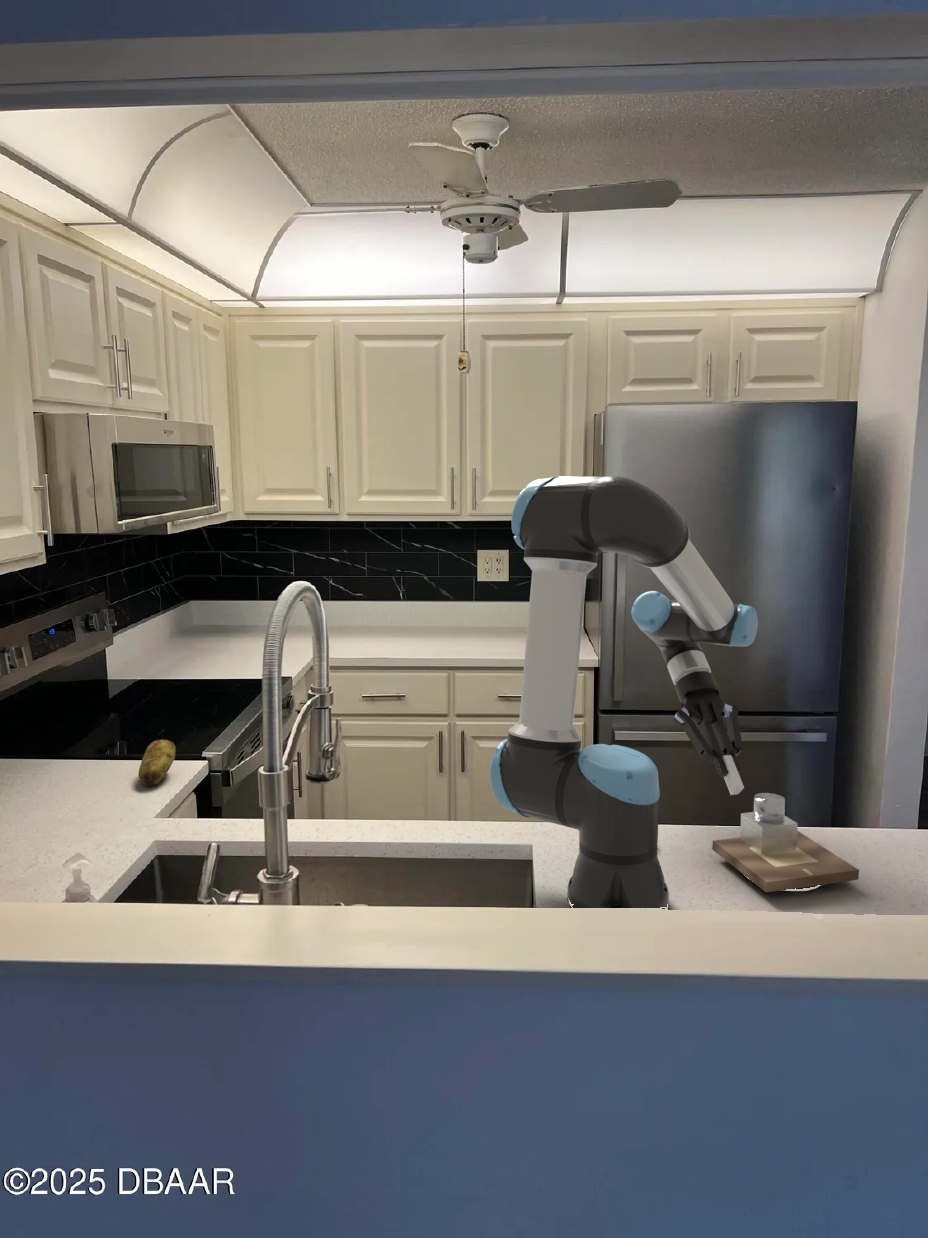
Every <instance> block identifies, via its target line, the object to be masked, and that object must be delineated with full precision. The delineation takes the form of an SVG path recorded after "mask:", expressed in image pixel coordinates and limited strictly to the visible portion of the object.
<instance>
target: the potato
mask: <svg viewBox="0 0 928 1238" xmlns="http://www.w3.org/2000/svg"><path fill="white" fill-rule="evenodd" d="M175 757H176V745H175V743H174V742H173V741H170V740H168V739H156V740H154V741H152V742H151V743H149V745H148V746H147V747H146V749H145V752H144V754H143V757H142V758H141V759H142V760H141V762H140V766H139V768H138V778H139V781H140V782H141V783H142V784H144V785H145V786H148V787H152V786H155V785H157V784H159V783H160V782H161V781H162V780H163V779H164V776H165V775H166V774H167V773H168V772H169V770H170V769H171V767H172V765H173V762H174V760H175Z"/></svg>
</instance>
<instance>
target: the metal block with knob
mask: <svg viewBox="0 0 928 1238" xmlns="http://www.w3.org/2000/svg"><path fill="white" fill-rule="evenodd" d="M785 806H786V798H785V797H784V796H782V795H779V794H777V793H770V792H759V793H756V794H754V796H753V811H751V812H750V811H749V812H743V813H740V831H739V832H740V834H739V835H740V836H739V837H740V839H741V840H743V841H744V842H745V843H747V844H748V845H750V846H751V847H752V848H754V849H755V850H757V851H758V852H759V853H761V854H765V853H773V852H781V851H789V850H797V831H798V822H796V821H795V820H792V819H791V818H790V817H788V816H786V815H785V811H786V810H785V808H786V807H785Z"/></svg>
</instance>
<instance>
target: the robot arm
mask: <svg viewBox="0 0 928 1238" xmlns="http://www.w3.org/2000/svg"><path fill="white" fill-rule="evenodd" d="M511 531H512V534H514V536H513V540H514V541H515V543H516V545H517V546H519V548H521V549H522V550H524V553H523V554H524V555H523V561H524V562H525V563H526V565H528V567H529V568H530V570H531V571H532V572H531V581H530V592H529V593H530V595H529V604H528V605H529V606H528V616H527V617H528V618H527V627H526V628H527V629H526V639H525V653H524V659H523V660H524V661H523V662H524V663H523V673H522V686H521V695H520V696H521V697H520V709H519V719H518V721H517V722H516V723H515V724H513V725H512V726H511V727H510V728H509V729H508V737H507V738H505V739H503V740H502V741H500V742H499V744H497V746H496V748H495V753H494V754H492V756H491V760H490V766H489V782H490V786H491V791H492V793H493V796H494V797H495V799H496V800H497V802H498V803H499V805H500V806H501V807H503V808H504V809H505V810H507V811H509V812H513V813H516V814H518V815H520V816H521V817H524V818H532V819H536V820H540V821H543V822H548V823H552V824H555V825H559V826H563V827H568V828H571V829H575V830H577V831H578V835H579V836H578V837H579V838H578V839H579V843H578V844H579V845H578V847H579V849H578V850H579V851H578V855H577V856H576V857H577V858H576V860H575V864H574V868H573V872H572V876H571V877H570V878H569V881H568V884H567V899H568V898H569V900H570V902H571V904H574V905H573V906H572V907H573V908H660V907H667V904H668V902H669V903H670V893H669V892H670V891H669V887H668V885H667V883H666V882H665V877H664V873H663V869H662V866H661V864H660V863H661V862H660V860H659V856H658V853H659V852H658V847H659V846H658V843H659V840H658V839H659V810H660V809H659V807H660V806H659V805H660V801H659V800H660V796H661V790H660V784H659V771H658V768H657V766H656V764H655V763H654V761H653V760H652V759H651V758H650V757H649V756H647V755H646V754H644V753H642V752H641V751H639V750H636V749H633V748H630V747H628V746H622V745H618V744H611V745H608V744H606V743H597V744H591V745H587V746H586V747H583V749H582V740H583V739H582V735H581V734H580V733H579V732H578V730H577V729H576V728H575V727H574V720H575V712H576V711H575V708H576V696H577V687H578V674H579V662H580V653H581V644H582V643H581V642H582V641H581V640H582V631H583V619H584V605H585V595H586V585H587V576H588V574H589V573H590V572H591V571H593V570H594V569H596V568H597V566H598V560H599V559H598V557H599V553H603V554H604V553H605V554H608V553H611V554H612V553H613V554H621V555H625V556H628V557H629V556H630V557H631V558H632V559H633V560H634V561H635V562H637V563H638V564H639V565H640V566H642V567H645V568H649V569H650V571H652V573H654V575H655V576H656V577H657V579H658V581H660V582H661V584H662V585H663V586H664V587H665V588H666V589H667V591H668V592H669V594H670V595H671V596H672V597H673V598H674V600H673V599H670V598H669V597H668V596H666V595H664V594H663V593H661V592H659V591H655V590H650V591H649V590H648V591H646V592H644V593H642V594H640V595H639V596H637V598H636V599H635V600H634V602H633V604H632V606H631V618H632V620H633V621H634V623H635V624H636V625H637V627H638V629H639V630H640V631H641V632H643V633H644V634H645V636H647V637H648V638H649V639H650V640H651V641H652V642H653V643H654V644H655V645H656V646H657V647H658V648H659V649H660V653H661V654H662V657H663V660H664V661H665V662H664V663H665V665H666V668H667V670H668V673H669V676H670V677H671V681H672V683H673V685H674V689H675V691H676V693H677V697H678V700H679V702H680V703H681V709H678V711H677V712H676V713H675V715H674V716H673V721H675V722H676V724H678V725H679V726H680V727H681V728H682V730H683V732H685V734H686V736H687V738H688V739H689V741H690V742H691V744H692V745H693V747H694V748H695V750H696V752H697V753H698V754H699V756H700V758H701V760H705V761H706V760H709V762H710V764H712V765H714V766H715V769H716V772H717V774H718V776H719V777H720V778H723V779H724V782H725V784H726V787H727V789H728V792H729V794H730V796H736V795H739V794H740V793H741V792H742V791H743V790H744V789H745V786H744V784H743V781H742V778H741V775H740V773H741V771H742V770H741V767H740V765H739V762H738V760H737V759H738V758H737V757H738V755H739V754H740V753H741V752H742V751H743V749H744V747H743V741H742V740H743V739H742V737H741V735H742V734H741V729H740V724H739V718H738V717H739V716H738V714H739V712H740V707H739V705H737V704H733V706H731V705H730V704H727V703H726V701H725V699H723V697H721V695H720V693H719V687H718V685H717V682H716V679H715V677H714V674H713V673H712V669H711V667H710V665H709V663H708V660H707V657H706V656H705V654H704V652H703V649H702V646H701V645H700V643H701V644H710V645H718V646H724V647H725V646H726V647H731V648H732V647H741V648H743V647H749V646H751V645H752V644H753V643H754V641H755V639H756V636H757V632H758V627H759V619H758V613H757V610H756V609H755V608H754V607H753V606H751V605H744V604H742V603H739V604H736V603H734V602H733V600H732V599H731V598H730V596H729V595H728V593H727V592H726V590H725V589H724V587H723V586H722V585H721V582H720V581H719V580H718V579H717V577H716V576H715V574H714V573H713V572H712V570H711V569H710V568H709V566H708V564H707V563H706V561H705V560H704V559H703V557H702V556H701V555H700V553H699V551H698V550H697V548H696V547H695V546H694V543H692V541H691V540H690V528H689V525H688V523H687V522H686V521H685V519H684V518H683V516H682V515H681V513H680V512H679V511H678V510H677V509H676V507H675V506H674V505H672V504H671V503H670V502H669V501H668V500H667V499H666V498H665V497H663V496H662V495H661V494H659V493H658V492H656V491H654V490H653V489H652V488H651V487H649V486H647V485H645V484H643V483H641V482H639V481H637V480H635V479H632V478H629V477H626V476H620V475H605V476H598V475H596V476H579V475H578V476H569V475H568V476H557V475H556V476H553V477H548V478H547V477H545V478H538V479H536V480H533V481H531V482H529V483H528V484H526V486H525V488H523V489H522V490H521V491H520V493H519V494H518V496H517V498H516V501H515V502H514V506H513V510H512V515H511ZM723 713H724V717H723ZM724 718H726V720H725V721H726V722H725V723H726V725H725V723H724ZM726 728H727V729H726ZM662 909H665V908H662Z"/></svg>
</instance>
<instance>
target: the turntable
mask: <svg viewBox="0 0 928 1238" xmlns="http://www.w3.org/2000/svg"><path fill="white" fill-rule="evenodd" d="M712 851H713V852H715V853H716V854H718V856H720V857H721V858H722V859H724V860H725V861H726V862H728V864H730V865H731V866H732V867H734V868H735V869H736V870H738V871H739V872H740V873H741V874H742V873H743V874H744V875H745V876H746V877H748V878H749V879H750V880H751V881H753V882H754V883H753V882H752V883H753V884H755V885H757V886H758V887H759V888H760V889H761V890H763V892H765V893H770V892H778V891H779V890H786V889H794V888H801V887H808V886H815V885H822V886H823V885H828V884H836V883H837V884H838V883H844V882H851V881H858V880H859V878H860V877H859V876H860V869H858V868H857V867H855V866H854V865H852V864H850V863H849V862H848V861H846V860H844V859H843V858H841V857H839V856H838V855H836V854H835V853H833V852H832V851H830V850H829V849H827V848H825V847H824V846H822V845H820V843H817V842H816V841H814V840H813V839H811V838H809V837H808V836H807V835H805V834H803V833H802V832H800V831H798V830H797V850H789V851H781V852H773V853H765V854H761V853H759V852H758V851H757V850H755V849H754V848H752V847H751V846H750V845H748V844H747V843H745V842H744V841H743V840H741V839H740V836H739V837H732V838H724V839H723V838H722V839H715V840H712ZM750 880H749V881H750ZM751 881H750V882H751Z"/></svg>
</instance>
